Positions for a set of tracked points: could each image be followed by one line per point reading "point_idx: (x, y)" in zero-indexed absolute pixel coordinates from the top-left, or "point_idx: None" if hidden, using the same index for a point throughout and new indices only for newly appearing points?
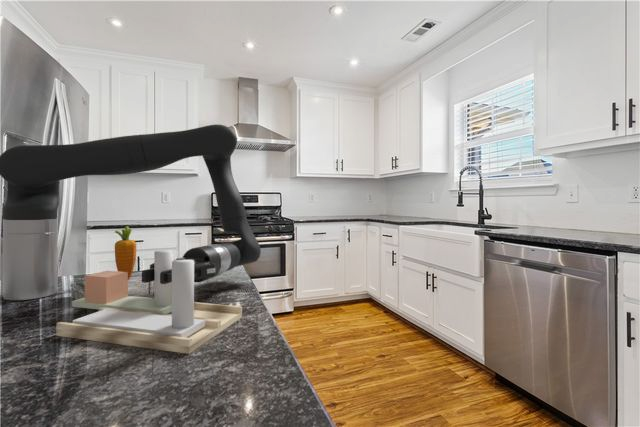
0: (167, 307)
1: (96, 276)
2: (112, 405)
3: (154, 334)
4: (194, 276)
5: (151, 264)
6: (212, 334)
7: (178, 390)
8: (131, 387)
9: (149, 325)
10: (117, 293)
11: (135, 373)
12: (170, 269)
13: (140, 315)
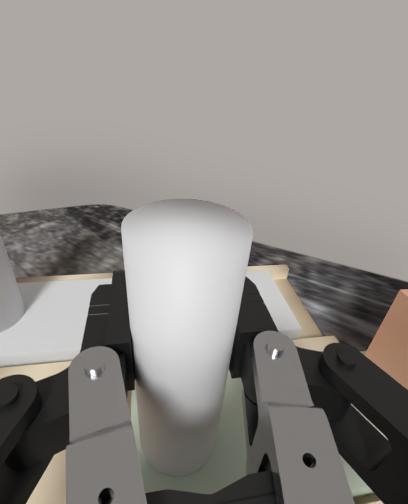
0: (136, 410)
1: None
2: (24, 221)
3: (48, 279)
4: (8, 492)
5: (370, 364)
6: None
7: None
8: (22, 237)
9: (84, 293)
10: (403, 385)
11: (36, 252)
12: (127, 314)
13: None
